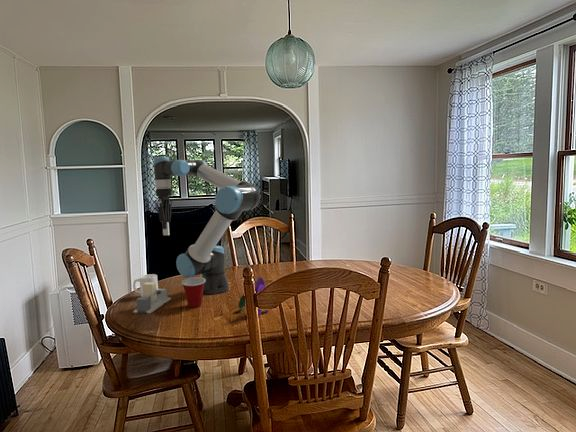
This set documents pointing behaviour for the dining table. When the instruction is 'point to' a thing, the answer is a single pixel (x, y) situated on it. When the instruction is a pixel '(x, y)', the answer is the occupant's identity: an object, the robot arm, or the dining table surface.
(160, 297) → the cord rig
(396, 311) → the dining table surface
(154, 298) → the sleeve
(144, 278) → the cup
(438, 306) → the dining table surface
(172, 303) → the dining table surface
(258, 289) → the flower
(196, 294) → the plastic cup
